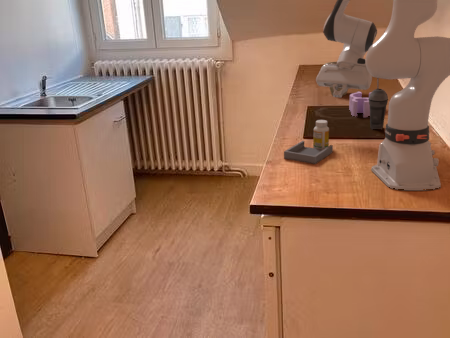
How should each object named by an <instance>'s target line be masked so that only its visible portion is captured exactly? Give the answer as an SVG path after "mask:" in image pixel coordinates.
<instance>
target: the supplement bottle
mask: <svg viewBox="0 0 450 338" xmlns="http://www.w3.org/2000/svg"><path fill="white" fill-rule="evenodd" d="M312 137H313V144H312V148H316V149H322V150H324V149H325V148H327V147H328V146H330V145H329V144H330V141H329V139H330V127H328V120H325V119H317V120H316V121H315V126H314V128H313V136H312Z"/></svg>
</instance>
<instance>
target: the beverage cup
mask: <svg viewBox="0 0 450 338" xmlns="http://www.w3.org/2000/svg"><path fill="white" fill-rule="evenodd" d="M379 79H380V78H376V80H377V81H376V83H377V85H376V89H374V90H372V91H371V94H370V96H369V95H368V98H369V99H368V100H369V105H370V117H369V124H370V129H371V130H373V129H381V130H383V129H382V128H383V126H384V123H385V118H386V117H385V116H386V111H387V105H388V103H389V102H388V101H389V96H388V93H387V92H386V90H384V89H381V88H379V86H380V85H379Z"/></svg>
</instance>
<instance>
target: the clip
mask: <svg viewBox="0 0 450 338" xmlns="http://www.w3.org/2000/svg"><path fill="white" fill-rule="evenodd" d="M371 92H372V91H371ZM371 92H369V93H368V97H363V93H362V92H361V91H356V92H353V93H350V94H349V103H348V105H349V106H348V108H349V109H348V110H350V111H349V112H350V114H351V115H352V116H351V117H353V116H355V117H354V118H357V117H358V114H357V113H363V114H362V117H363V118H369V117H368V116H370V105H369V100H368V99H369V96H370V94H371ZM356 116H357V117H356Z"/></svg>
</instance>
